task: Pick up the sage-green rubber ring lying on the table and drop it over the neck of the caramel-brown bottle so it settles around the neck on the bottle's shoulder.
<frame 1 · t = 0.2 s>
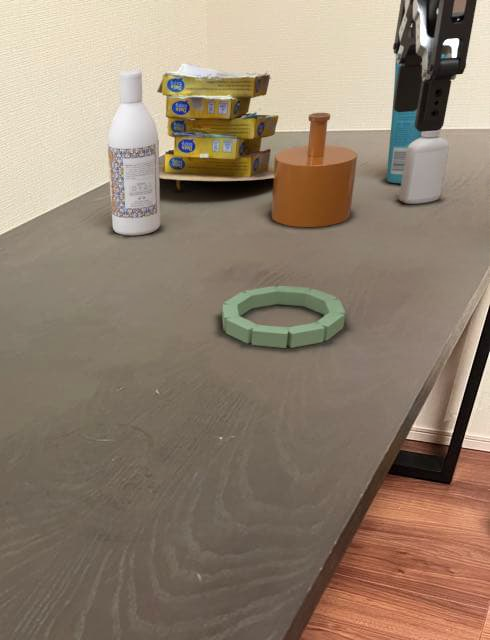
hand: (415, 120, 71), 20 cm above the table, tool pointing down, fingers open, 8 cm apart
eye dropper bottle: (418, 201, 115), on the table
tube: (401, 181, 123), on the table
stacked yellow boxes: (207, 184, 131), on the table
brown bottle: (310, 215, 114), on the table
bath foam: (136, 230, 115), on the table
rubber ring: (281, 322, 86), on the table
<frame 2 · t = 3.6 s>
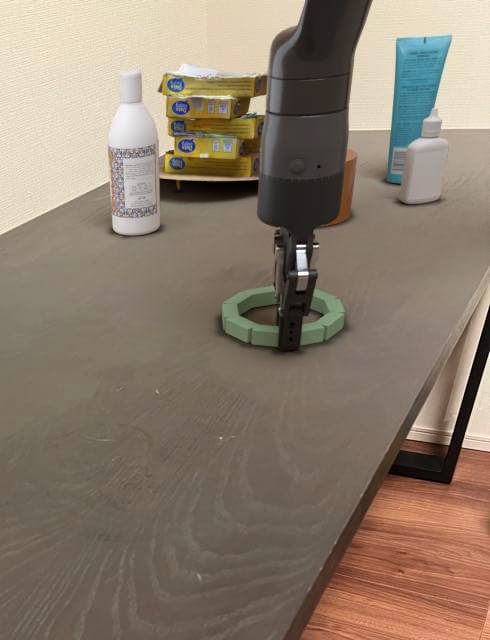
hand: (287, 342, 82), 0 cm above the table, tool pointing down, fingers closed on rubber ring, 2 cm apart
rubber ring: (281, 321, 86), on the table, touching gripper
everything else where it was.
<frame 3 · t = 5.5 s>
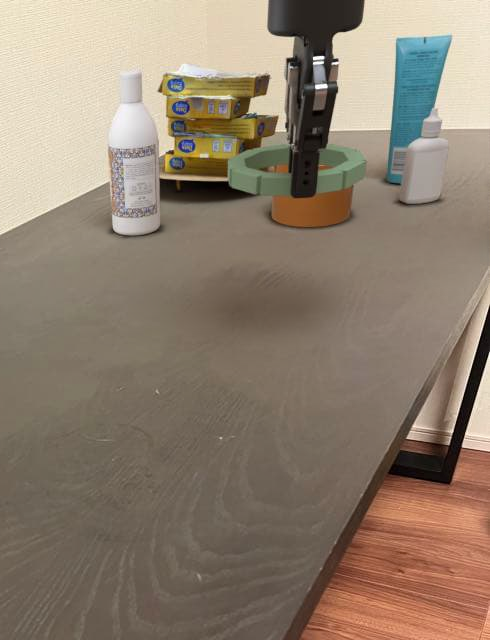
hand: (300, 192, 72), 15 cm above the table, tool pointing down, fingers closed on rubber ring
rubber ring: (293, 177, 77), point 15 cm above the table, touching gripper
everything else where it was.
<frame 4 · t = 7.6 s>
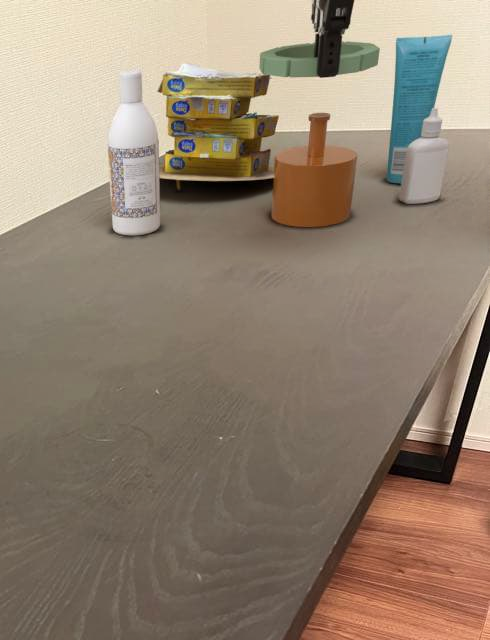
hand: (325, 73, 85), 21 cm above the table, tool pointing down, fingers closed on rubber ring
rubber ring: (317, 66, 89), point 21 cm above the table, touching gripper
everything else where it was.
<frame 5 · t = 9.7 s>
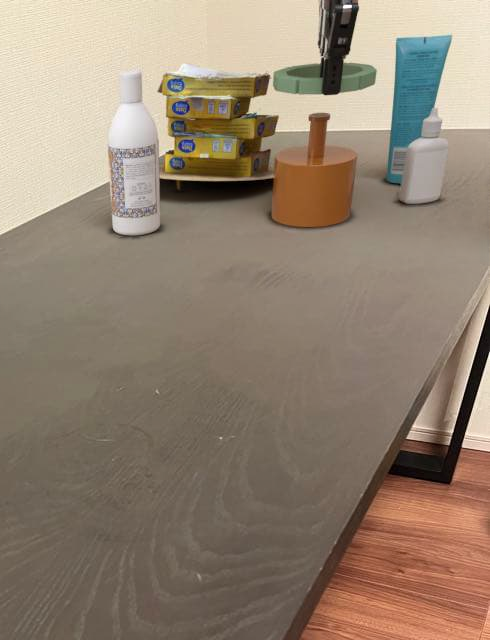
hand: (328, 91, 99), 17 cm above the table, tool pointing down, fingers closed on rubber ring
rubber ring: (322, 84, 103), point 17 cm above the table, touching gripper
everything else where it was.
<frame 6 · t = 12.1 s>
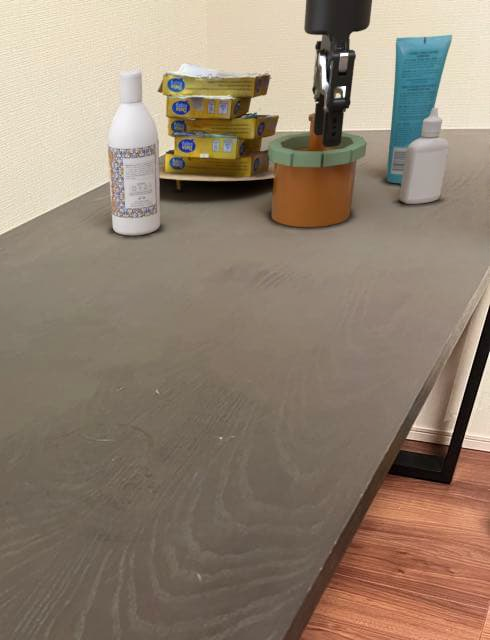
hand: (326, 139, 102), 11 cm above the table, tool pointing down, fingers open, 7 cm apart
rubber ring: (315, 155, 109), point 8 cm above the table, touching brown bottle
everything else where it was.
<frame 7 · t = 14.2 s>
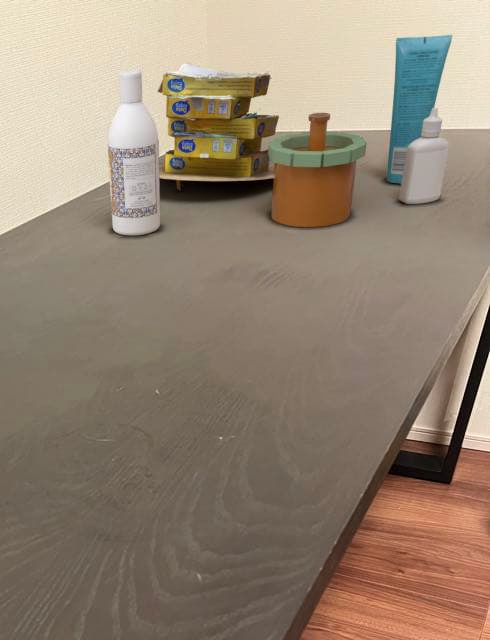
nothing on the table moved.
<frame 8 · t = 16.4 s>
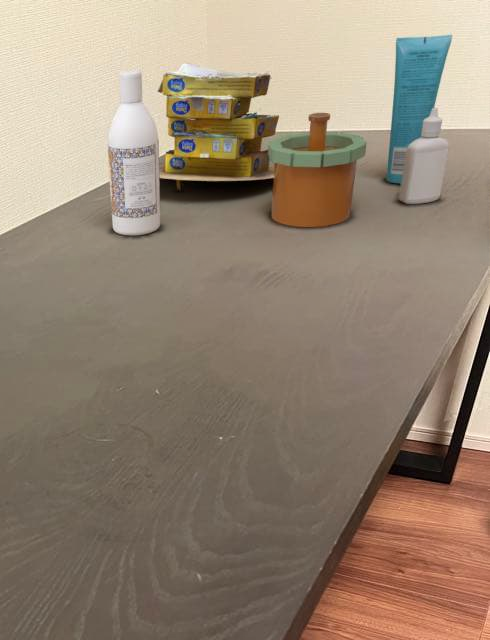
nothing on the table moved.
at the end: rubber ring inside the target area on the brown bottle (0.0 cm from its centre), point 8.0 cm above the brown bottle's base; the gripper is holding nothing; rubber ring tilted 0° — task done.
